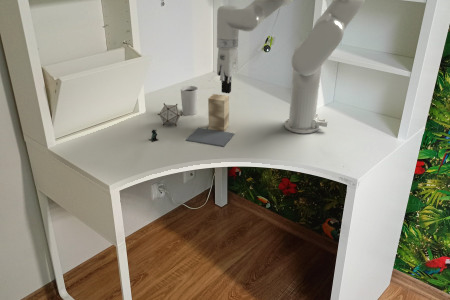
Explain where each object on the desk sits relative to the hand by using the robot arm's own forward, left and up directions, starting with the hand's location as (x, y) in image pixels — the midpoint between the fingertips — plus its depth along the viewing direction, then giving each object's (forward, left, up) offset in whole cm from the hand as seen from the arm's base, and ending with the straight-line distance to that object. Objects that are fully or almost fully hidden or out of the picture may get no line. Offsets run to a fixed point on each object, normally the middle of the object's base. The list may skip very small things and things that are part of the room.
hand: (226, 92), depth 162 cm
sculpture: (+18, +26, -11) cm, 33 cm away
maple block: (0, +9, -11) cm, 14 cm away
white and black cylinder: (+16, -1, -11) cm, 19 cm away
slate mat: (0, +17, -11) cm, 20 cm away
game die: (+18, +12, -11) cm, 24 cm away
